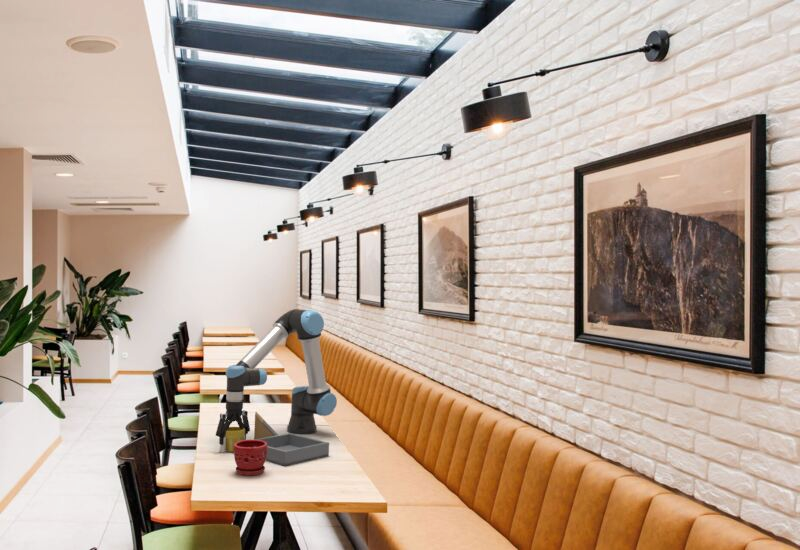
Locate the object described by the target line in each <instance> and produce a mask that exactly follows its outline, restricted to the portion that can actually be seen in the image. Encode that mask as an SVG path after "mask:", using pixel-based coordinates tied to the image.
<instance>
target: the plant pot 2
mask: <svg viewBox="0 0 800 550" xmlns="http://www.w3.org/2000/svg"><path fill="white" fill-rule="evenodd" d="M254 446H256V447H254ZM248 447H250V448H248ZM263 452H264V456H263ZM233 453H234V454H233V455H234V461H235V465H236V467H235V471H236V472H237V474H239V475H243V476H257V475H260V474H262V473H264V472H265V470H266V467H265V463H266V461H265V460H266V456H267V443H266V442H265V441H261V440H254V439H246V440H243V441H239V442H236V443H235V444H234V452H233Z"/></svg>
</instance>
